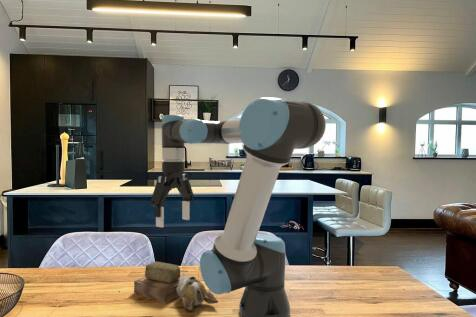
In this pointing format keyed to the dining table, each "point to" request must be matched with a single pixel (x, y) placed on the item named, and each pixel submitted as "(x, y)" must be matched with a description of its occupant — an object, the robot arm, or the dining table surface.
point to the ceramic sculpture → (193, 292)
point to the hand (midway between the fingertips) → (173, 223)
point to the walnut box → (156, 289)
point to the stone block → (162, 272)
